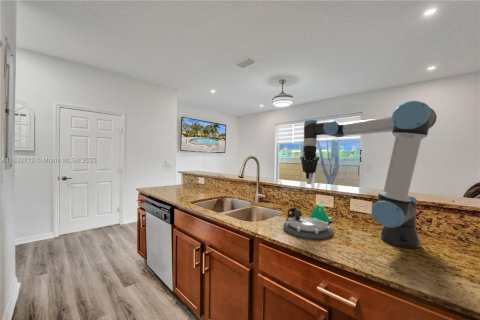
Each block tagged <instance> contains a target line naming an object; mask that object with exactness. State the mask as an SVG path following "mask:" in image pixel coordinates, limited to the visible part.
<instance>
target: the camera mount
mask: <svg viewBox="0 0 480 320" xmlns="http://www.w3.org/2000/svg"><path fill="white" fill-rule="evenodd" d="M309 218H317V219H319V220H322V221H324V222H328V223H330V222H331V221H333V217H332V216H328V214H327V212H326V210H325V206H324V205H322V204H319V205H318V206H316V207H315V209H314V210H313V211H312V213H311V214H310V215H309Z"/></svg>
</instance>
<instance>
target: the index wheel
mask: <svg viewBox="0 0 480 320" xmlns="http://www.w3.org/2000/svg"><path fill="white" fill-rule="evenodd" d="M300 212H301V209H298V208H297V209H296V210H295V217H292V218H288V217H287V221H288V222H287V221H286V222H287V226H290V227H291V228H293V229H295V230H297V231H299V232H300V231H302V232H309V233H315V234H318V233H322V232H326V231H328V232H329V231H330V227H331V226H330V227H328V226H329V222H324V221H322V220H319V219H317V218H310V216H309V217H307V216H302V217H301V216H300Z"/></svg>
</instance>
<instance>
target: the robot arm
mask: <svg viewBox="0 0 480 320" xmlns="http://www.w3.org/2000/svg"><path fill="white" fill-rule="evenodd" d="M391 115H392V116H386V117H385V116H384V117H380V118H379V117H377V118H373V119H372V118H371V119H364V120H359V121H358V120H356V121H351V122H350V121H349V122H344V123H338V122H337V121H336V120H326V121H321V122H318V120H316V119H307V120H304V123H303V124H304V125H303V155H302V156H300V157H299V159H300V161H301V168H302V172H303V173H305V179H306V185H312V182H313V181H312V179H313V175H314V173H316V171H317V167H318V163H319V161H320V156H317V154H316V153H317V143H318V142H317V141H318V139H317V137H318V136H331V137H335V138H342V137H345V136H347V137H348V136H355V135H356V136H357V135H368V134H379V133H388V132H389V133H391V134H392V135H393V136H394V142H393V146H392V147H393V148H392V152H391V156H390V161H389V164H388V169H387V175H386V178H385V184H384V188H383V190H381V191H379V193H378V195H377V200H376V202H375V203H374V204H373V206H372V207H371V216H372V217H373V219H374V220H375V222H377V223H378V224H379V225H381V226H383V228H382V231H381V233H380V240H382V241H383V242H385V243H386V244H390V245H392V246H395V247H400V248H404V249H420V247H421V241H420V238H419V235H418V231H417V230H416V228H417V227H416V226H417V224H416V223H417V205H418V203H417V199H416V197H415V196H409V192H410V188H411V183H412V180H413V174H414V172H415V166H416V163H417V158H418V154H419V150H420V147H421V142H422V140H423V139H425V138H426V137H428V134H429V130H430V129H431V128H432V127H434V125H435V124H436V122H437V113H436V111H435V110H434V109H433V108H431V107H430V106H429V105H428V103H425V102H422V101H418V100H410V101H406V102H403V103H401V104H400V105H399V106H397V107H396V108H395V109H394V110H393V112H392V114H391Z"/></svg>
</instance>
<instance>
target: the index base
mask: <svg viewBox="0 0 480 320" xmlns="http://www.w3.org/2000/svg"><path fill="white" fill-rule="evenodd" d="M287 222H288V220H287V221H285V222H284V223H283V230H284V231H285V232H286V233H287V234H289V235H290V236H294V237H297V238H301V239H306V240H313V241H314V240H316V241H317V240H319V241H320V240H321V241H322V240H327V239H330V238H332V237H333V236H334V228H332V227H331V226H330V225H328V227H330V231H329V232H328V231H326V232H322V233H318V234H315V233H309V232H302V231H300V232H299V231H297V230H295V229H293V228H291V227H290V226H287Z"/></svg>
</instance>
